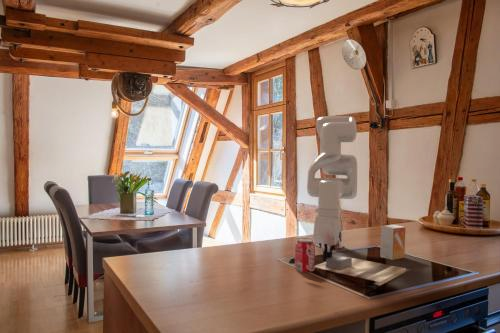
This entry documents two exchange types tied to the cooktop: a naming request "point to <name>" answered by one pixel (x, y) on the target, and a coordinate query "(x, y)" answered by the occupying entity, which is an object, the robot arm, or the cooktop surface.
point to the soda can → (304, 255)
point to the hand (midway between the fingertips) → (327, 261)
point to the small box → (392, 242)
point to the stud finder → (338, 262)
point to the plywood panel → (368, 270)
